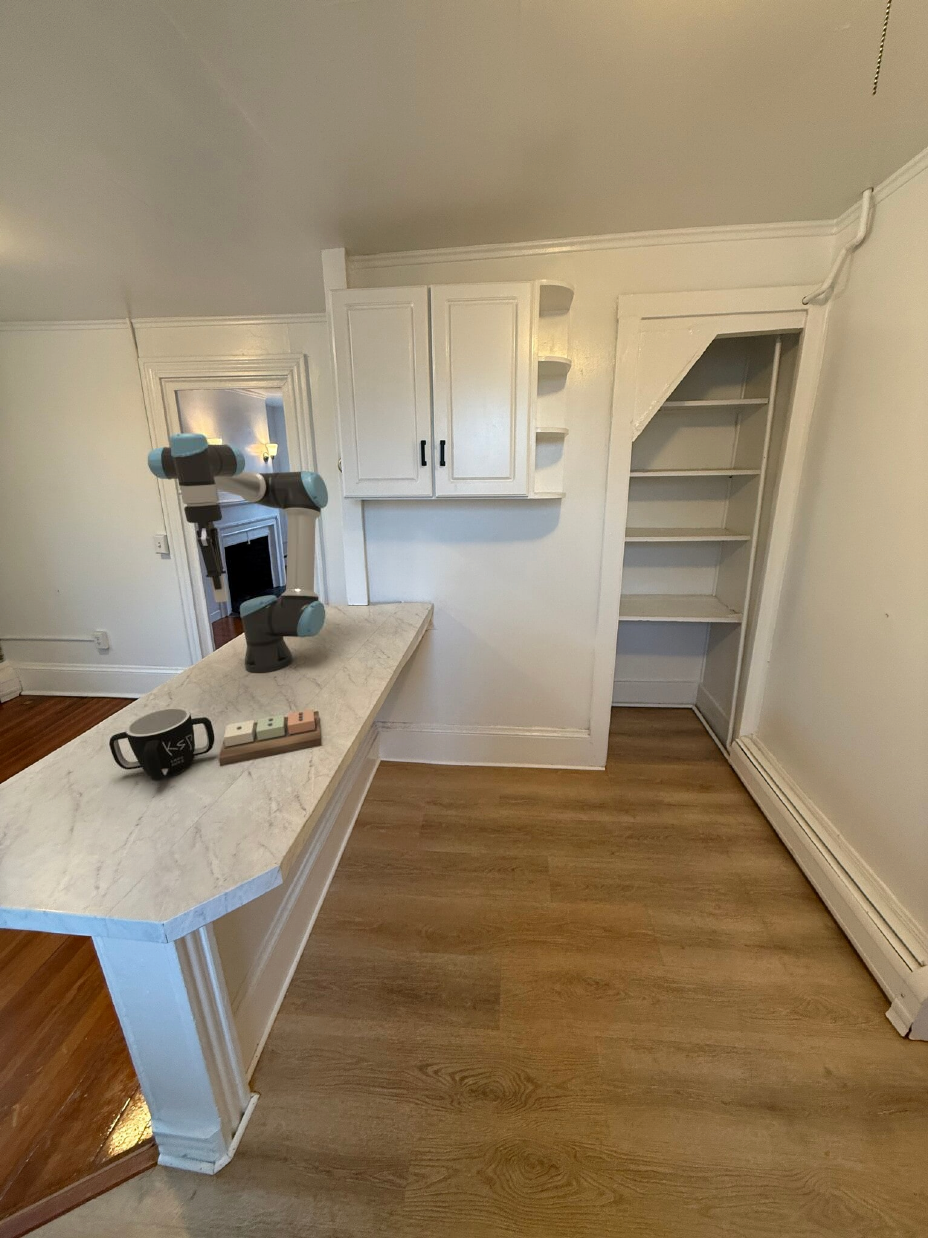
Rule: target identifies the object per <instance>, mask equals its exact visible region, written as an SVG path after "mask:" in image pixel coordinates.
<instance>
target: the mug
mask: <svg viewBox="0 0 928 1238" xmlns="http://www.w3.org/2000/svg"><path fill="white" fill-rule="evenodd" d="M191 715H192V714H191V711H190V710H188V709H186V708H185V707H184V708H183V707H167V708H161V709H158V710H154V711H150V712H148V713H146V714H143V715H140V716H139V717H137V718H135V719H134V720H132V721H131V722H130V723H128V725H127V726H126V727H125V731H122V732H119V733H116V734H113V735H112V736H111V737H110V739H109V748H110V752H111V756H112V757H113V760H114V761H115V763H116V765H118V766H119V768H121V769H123V770H127V771H129V770H136V769H137V770H138V769H142V770H143V771H144V773H145V774H146V775H147V776H149V777H150V778H151V780H152V781H155V782H160V781H163V780H164V779H166V778H168V777H169V778H170V777H172V776H175V775H178V774H180V773H181V772H183V771H185V770H186V769H188V768H189V767H190V766H191V765H192V764H193V762H194V758H195V757H196V756H201V755H204V754H207V753H209V752H210V751H211V750H212V749H213V747H214V745H215V732H214V728H213V724H212V721H211V720H210V719H209V717H205V716H204V717H194V718H192V716H191ZM196 725H203V727H204V729H205V733H206V741H207V743H206V745H204V746H202V747H198V748H195V747H196V743H195V742H196V741H195V730H194V726H196ZM124 739H127V741H128V743H129V746H130V748H131V751H132V753H133V754H134V756H135V758H136V760H135V761H129V760H127V759H126V758H125V757H124V754H123V753H122V750H121V747H120V742H119V741H120V740H124Z"/></svg>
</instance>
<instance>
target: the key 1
mask: <svg viewBox="0 0 928 1238" xmlns="http://www.w3.org/2000/svg"><path fill="white" fill-rule="evenodd" d="M255 730H256V728H255V720H253V719H252V720H247V721H243V722H237V723H236V722H235V723H231V724H227V725H226V729H225V731H224V736H223V741H225V746H232V745H237V744H242V743H247V742H252V741H254V736H255Z"/></svg>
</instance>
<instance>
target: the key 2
mask: <svg viewBox="0 0 928 1238" xmlns="http://www.w3.org/2000/svg"><path fill="white" fill-rule="evenodd" d="M285 717H286V716H285V714H281V715H279V714H278V715H275V716H274V715H273V716H268V717H263V718H258V719H257V722H258V724H257V730H256V733H257V738H258V740H262V739H268V738H273V737H278V736H283V735H285V725H286V722H285Z"/></svg>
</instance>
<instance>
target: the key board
mask: <svg viewBox="0 0 928 1238" xmlns="http://www.w3.org/2000/svg"><path fill="white" fill-rule="evenodd" d="M284 717H285V722H286V725H285V735H283V736H278V737H273V738H268V739H262V740H258V738H257V733H256V730H257V724H258V721H254V723H255V728H256V730H255V736H254V741H252V742H247V743H242V744H237V745H232V746H225V741H224V740H223V742H222V744H221V745H222V746H221V748H220V753H219V757H218V761H219V766H220V767H222V766H227V765H233V764H237V763H242V762H246V761H252V760H256V759H262V758H267V757H271V756H276V755H281V754H282V755H283V754H286V753H290V752H295V751H301V750H305V749H311V748H314V747H320V746H322V736H321V735H322V734H321V724H320V714H319V711H318V710H317V711H316V710H315V711H314V717H315V729H314V730H309V731H304V732H299V733H293V734H289V730H288V716H284Z"/></svg>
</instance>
